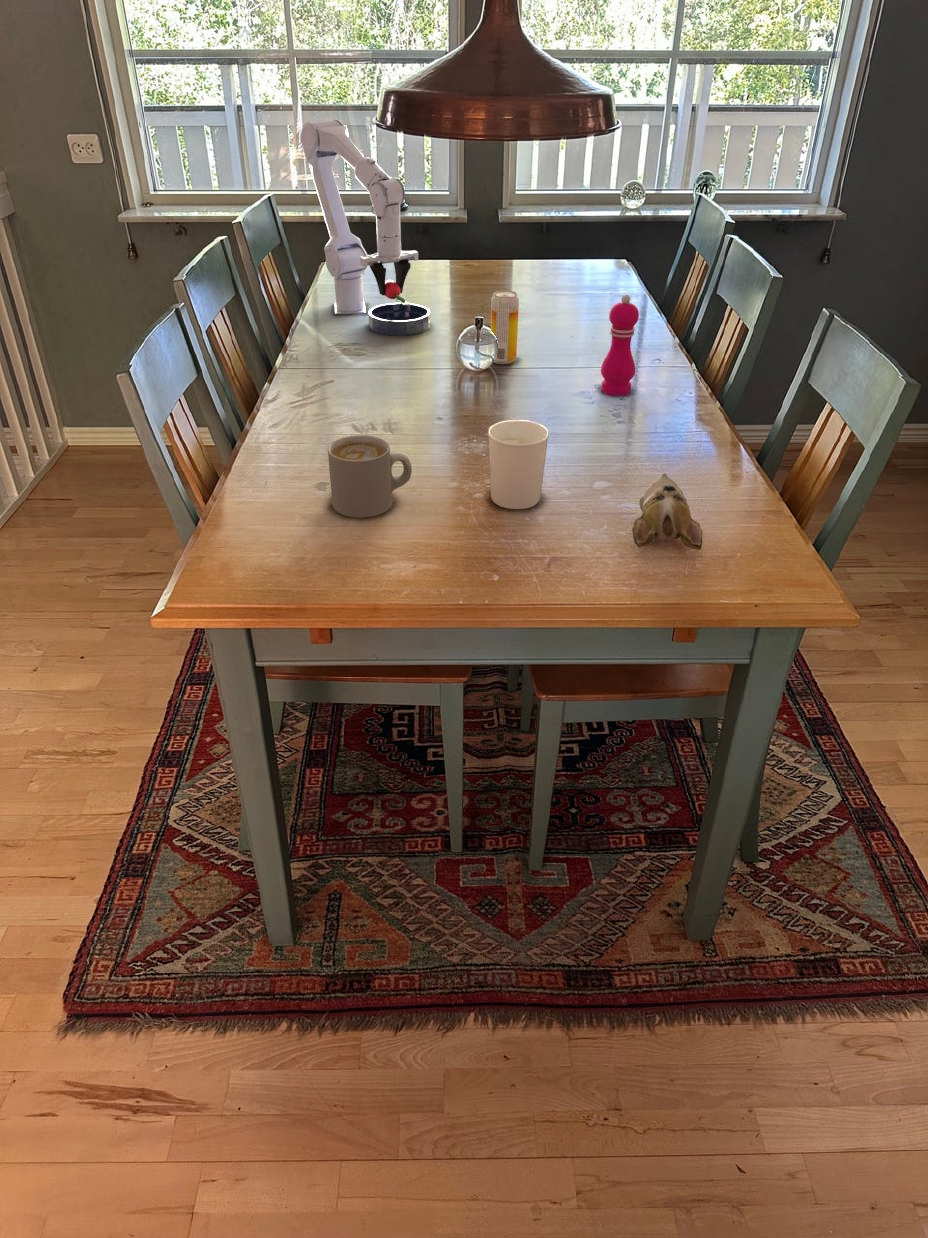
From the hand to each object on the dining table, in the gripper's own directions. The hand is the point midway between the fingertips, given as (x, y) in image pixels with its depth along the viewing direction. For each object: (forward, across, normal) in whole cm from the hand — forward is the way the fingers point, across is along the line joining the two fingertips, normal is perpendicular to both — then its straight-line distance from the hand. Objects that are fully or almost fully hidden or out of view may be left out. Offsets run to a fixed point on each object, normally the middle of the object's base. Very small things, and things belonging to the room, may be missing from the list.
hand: (390, 293), depth 222 cm
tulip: (+1, 0, -3) cm, 3 cm away
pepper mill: (+8, +25, -62) cm, 67 cm away
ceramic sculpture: (+8, -4, -116) cm, 116 cm away
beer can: (+8, +13, -35) cm, 38 cm away
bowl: (+8, +1, -3) cm, 9 cm away
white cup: (+8, -19, -94) cm, 97 cm away
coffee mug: (+8, -41, -85) cm, 95 cm away
